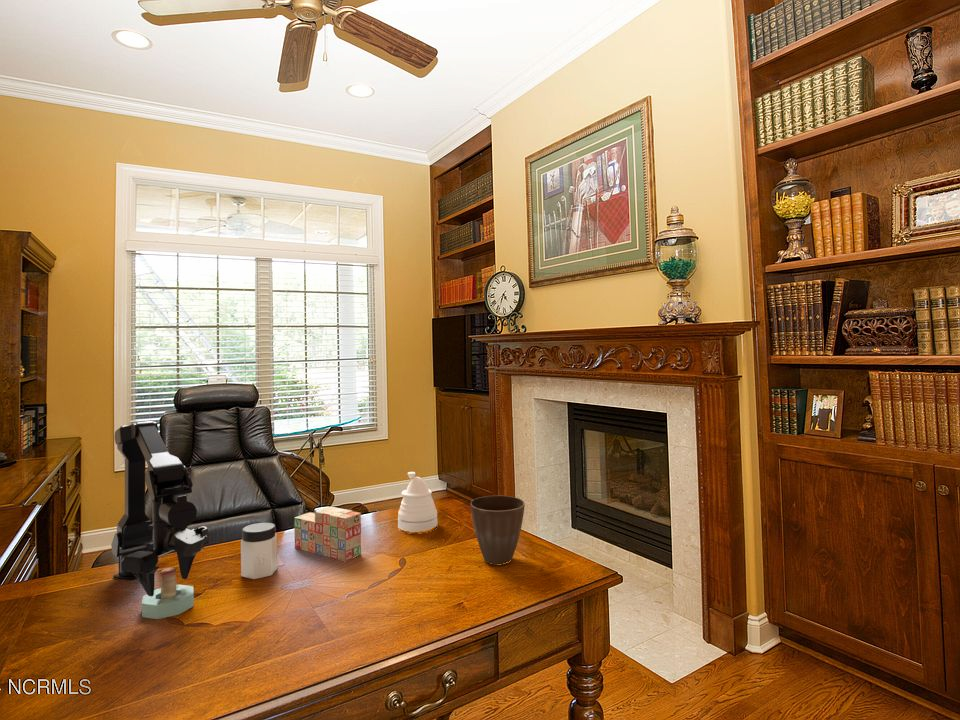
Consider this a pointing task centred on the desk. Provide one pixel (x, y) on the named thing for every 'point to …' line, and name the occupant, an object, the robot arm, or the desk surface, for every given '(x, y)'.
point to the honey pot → (417, 507)
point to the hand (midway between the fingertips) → (168, 587)
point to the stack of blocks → (329, 533)
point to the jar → (258, 550)
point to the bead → (168, 603)
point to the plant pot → (497, 526)
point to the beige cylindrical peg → (168, 583)
